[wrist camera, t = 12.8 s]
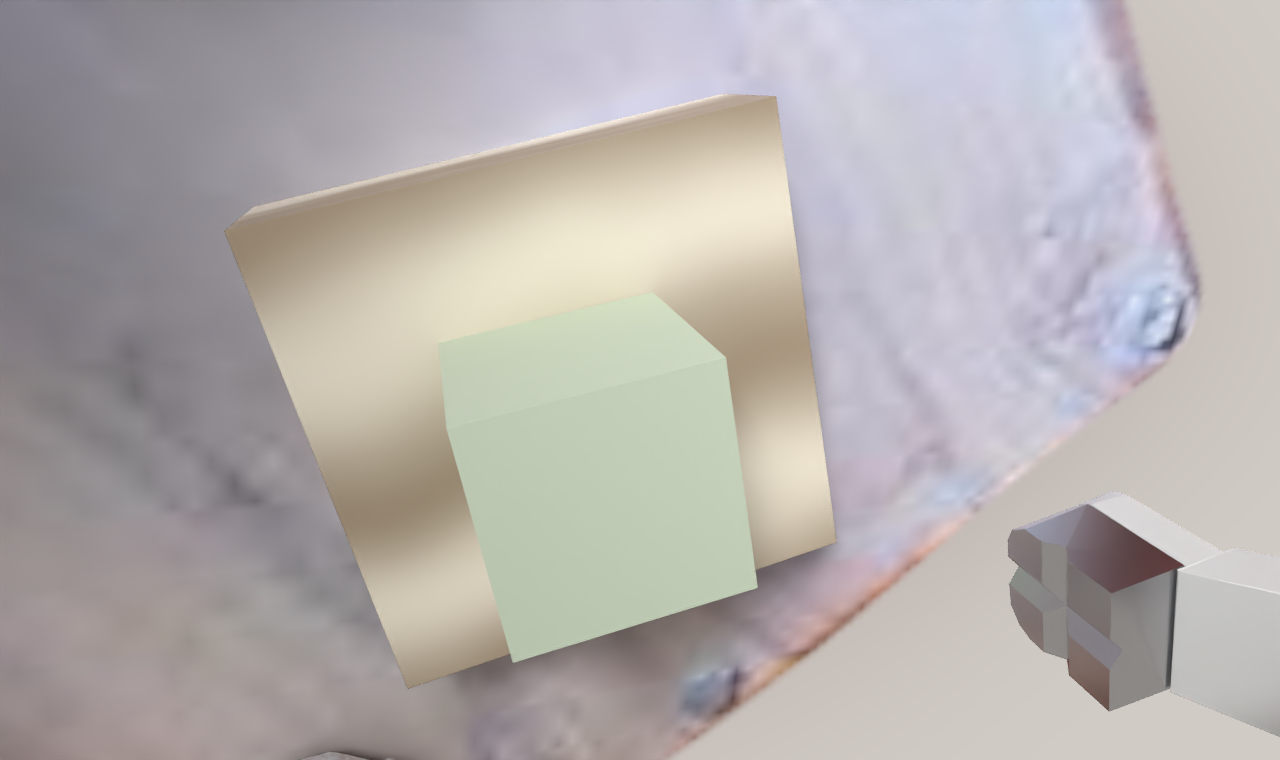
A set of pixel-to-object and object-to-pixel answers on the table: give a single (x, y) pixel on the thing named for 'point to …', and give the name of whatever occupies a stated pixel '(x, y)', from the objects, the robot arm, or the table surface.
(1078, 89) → the table surface
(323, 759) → the white clam shell
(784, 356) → the ash block
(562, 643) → the sage cube
